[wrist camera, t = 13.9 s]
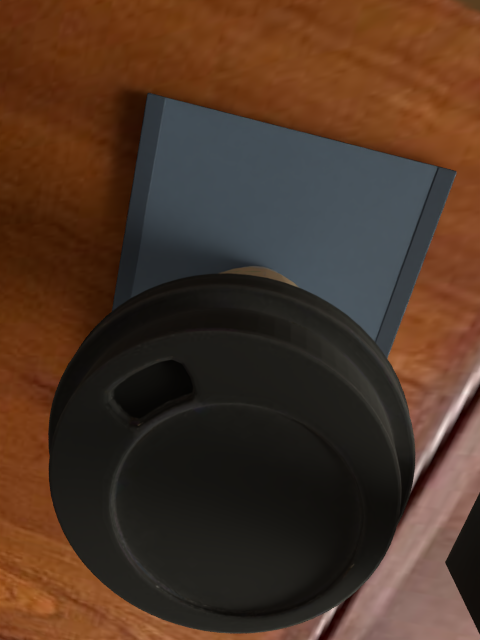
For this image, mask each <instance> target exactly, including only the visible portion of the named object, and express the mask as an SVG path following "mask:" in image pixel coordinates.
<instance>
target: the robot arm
mask: <svg viewBox="0 0 480 640" xmlns="http://www.w3.org/2000/svg"><path fill="white" fill-rule="evenodd" d="M445 563H446V565H447V567H448V569H449V572H450V574H451V576H452V578H453V580H454V582H455V584H456V586H457V588H458V590H459V592H460V594H461V596H462V599H463V601H464V603H465V605H466V607H467V609H468V611H469V613H470V615H471V617H472V619H473V621H474V623H475V625H476V628H477V630H478V632H479V634H480V493H479V495H478V497H477V499H476V501H475V503H474V505H473V507H472V509H471V511H470V513H469V515H468V518H467V520H466V522H465V524H464V526H463V528H462V530H461V532H460V534H459V536H458V538H457V540H456V542H455V544H454V546H453V548H452V550H451V552H450V554H449V556H448V558H447V560H446V562H445Z"/></svg>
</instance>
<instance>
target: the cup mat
mask: <svg viewBox="0 0 480 640" xmlns="http://www.w3.org/2000/svg"><path fill="white" fill-rule="evenodd" d="M455 176H456V171H454V170H450V169H446V168H442V167H438V166H434V165H430V164H426V163H422V162H418V161H414V160H410V159H406V158H402V157H398V156H394V155H390V154H387V153H383V152H379V151H375V150H371V149H367V148H363V147H359V146H355V145H351V144H347V143H343V142H339V141H335V140H332V139H328V138H324V137H320V136H316V135H312V134H308V133H304V132H300V131H296V130H292V129H288V128H284V127H280V126H276V125H273V124H269V123H265V122H261V121H257V120H253V119H249V118H245V117H241V116H237V115H233V114H229V113H225V112H221V111H218V110H214V109H210V108H206V107H202V106H198V105H194V104H190V103H186V102H182V101H178V100H174V99H170V98H166V97H163V96H159V95H155V94H151V93H148V94H147V99H146V105H145V111H144V118H143V124H142V130H141V136H140V142H139V148H138V154H137V160H136V167H135V173H134V179H133V185H132V191H131V197H130V203H129V209H128V216H127V222H126V228H125V234H124V240H123V246H122V252H121V258H120V265H119V271H118V277H117V283H116V289H115V295H114V301H113V307H112V311H113V310H114V309H116V308H117V307H118V306H120V305H121V304H123V303H124V302H126V301H127V300H129V299H130V298H132V297H134V296H136V295H138V294H140V293H142V292H144V291H145V290H148V289H150V288H153V287H155V286H158V285H160V284H163V283H166V282H170V281H173V280H176V279H180V278H185V277H190V276H195V275H204V274H218V273H221V272H225V271H228V270H231V269H235V268H242V267H248V266H260V267H266V268H269V269H271V270H274V271H276V272H277V273H279V274H281V275H283V276H284V277H286V278H287V279H289V280H290V281H292V282H294V283H295V284H296V285H297V286H298V287H299V288H302V289H304V290H306V291H308V292H310V293H312V294H314V295H317V296H318V297H320V298H322V299H324V300H325V301H327V302H329V303H331V304H332V305H334V306H335V307H337V308H338V309H340V310H341V311H342V312H344V313H345V314H347V315H348V316H349V317H350V318H351V319H353V320H354V321H355V322H356V323H357V324H358V325H360V326H361V327H362V329H363V330H364V331H365V332H366V333H367V334H368V335H369V336H370V337H371V338H372V339H373V340H374V342H375V343H376V344H377V345H378V347H379V348H380V349H381V350H382V352H383V353H384V355H385V356H386V358H388V355H389V352H390V350H391V347H392V344H393V342H394V339H395V336H396V334H397V331H398V328H399V326H400V323H401V320H402V318H403V315H404V312H405V310H406V307H407V304H408V302H409V299H410V296H411V293H412V291H413V288H414V285H415V283H416V280H417V277H418V275H419V272H420V269H421V267H422V264H423V261H424V259H425V256H426V253H427V251H428V248H429V245H430V243H431V240H432V237H433V235H434V232H435V229H436V226H437V224H438V221H439V218H440V216H441V213H442V210H443V208H444V205H445V202H446V200H447V197H448V194H449V192H450V189H451V186H452V184H453V181H454V178H455Z"/></svg>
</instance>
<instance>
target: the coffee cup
mask: <svg viewBox="0 0 480 640" xmlns="http://www.w3.org/2000/svg"><path fill="white" fill-rule="evenodd" d="M48 435H49V454H50V459H49V483H50V491H51V497H52V501H53V506H54V509H55V512H56V515H57V518H58V521H59V523H60V525H61V528H62V530H63V532H64V534H65V536H66V538H67V540H68V541H69V543H70V545H71V546H72V548H73V549H74V551H75V552H76V554H77V555H78V557H79V558H80V559H81V560H82V562H83V563H84V564H85V565H86V567H87V568H88V569H89V570H90V571H91V572H92V573H93V574H94V575H95V576H96V577H97V578H98V579H99V580H100V581H101V582H102V583H103V584H104V585H106V586H107V587H108V588H109V589H111V590H112V591H113V592H114V593H116V594H117V595H119V596H120V597H121V598H123V599H124V600H126V601H127V602H129V603H131V604H132V605H134V606H136V607H137V608H139V609H141V610H143V611H145V612H147V613H149V614H151V615H154V616H156V617H158V618H161V619H163V620H166V621H169V622H172V623H175V624H178V625H181V626H185V627H189V628H193V629H198V630H203V631H210V632H218V633H257V632H266V631H272V630H277V629H282V628H286V627H290V626H293V625H296V624H300V623H303V622H305V621H308V620H310V619H313V618H315V617H317V616H319V615H321V614H323V613H325V612H327V611H329V610H331V609H332V608H334V607H336V606H337V605H339V604H340V603H342V602H343V601H344V600H346V599H347V598H349V597H350V596H351V595H352V594H353V593H354V592H356V591H357V590H358V589H359V588H360V587H361V586H362V585H363V584H364V583H365V582H366V581H367V580H368V579H369V577H370V576H371V575H372V574H373V572H374V571H375V570H376V569H377V567H378V566H379V564H380V562H381V561H382V559H383V558H384V556H385V554H386V552H387V550H388V548H389V546H390V544H391V541H392V539H393V536H394V533H395V530H396V527H397V525H398V523H399V521H400V519H401V517H402V515H403V512H404V510H405V507H406V504H407V502H408V499H409V495H410V492H411V488H412V484H413V477H414V471H415V442H414V434H413V428H412V423H411V420H410V416H409V410H408V406H407V402H406V398H405V395H404V392H403V389H402V387H401V384H400V382H399V379H398V377H397V375H396V373H395V372H394V370H393V368H392V366H391V364H390V362H389V361H388V359H387V358H386V356H385V355H384V353H383V352H382V350H381V349H380V348H379V347H378V345H377V344H376V343H375V342H374V340H373V339H372V338H371V337H370V336H369V335H368V334H367V333H366V332H365V331H364V330H363V329H362V327H361V326H360V325H358V324H357V323H356V322H355V321H354V320H353V319H351V318H350V317H349V316H348V315H347V314H345V313H344V312H342V311H341V310H340V309H338V308H337V307H335V306H334V305H332V304H331V303H329V302H327V301H325V300H324V299H322V298H320V297H318V296H317V295H314V294H312V293H310V292H308V291H306V290H304V289H302V288H299V287H298V286H297V285H296V284H295V283H294V282H292V281H290V280H289V279H287V278H286V277H284V276H283V275H281V274H279V273H277V272H276V271H274V270H271V269H269V268H266V267H260V266H248V267H242V268H235V269H231V270H228V271H225V272H221V273H218V274H204V275H195V276H190V277H185V278H180V279H176V280H173V281H170V282H166V283H163V284H160V285H158V286H155V287H153V288H150V289H148V290H145V291H144V292H142V293H140V294H138V295H136V296H134V297H132V298H130V299H129V300H127V301H126V302H124V303H123V304H121V305H120V306H118V307H117V308H116V309H114V310H113V311H112V312H111V313H109V314H108V315H107V316H106V317H105V318H104V319H103V320H102V321H101V322H100V323H99V324H98V325H97V326H95V328H94V329H93V330H92V331H91V332H90V334H89V335H88V336H87V337H86V338H85V340H84V341H83V343H82V344H81V346H80V347H79V349H78V350H77V352H76V354H75V355H74V357H73V358H72V360H71V361H70V362H69V364H68V366H67V368H66V370H65V372H64V373H63V375H62V377H61V380H60V382H59V385H58V387H57V390H56V393H55V396H54V400H53V403H52V408H51V413H50V420H49V433H48Z"/></svg>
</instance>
